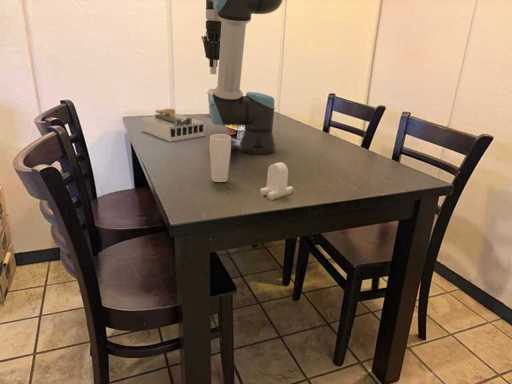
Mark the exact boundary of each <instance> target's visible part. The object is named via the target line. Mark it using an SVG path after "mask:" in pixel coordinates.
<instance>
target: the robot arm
mask: <svg viewBox="0 0 512 384" xmlns="http://www.w3.org/2000/svg"><path fill="white" fill-rule="evenodd" d="M282 3H283V0H205V19H206V21H205V29H206V31H205V34H204V35H202V36H201V41H202V43H203V47H204V55H205V58H206V59H207V60H208V61H209V63H208V64H209V70H210V71H209V72H210V73H209V75H217V86H216V87H215V88H213V89H214V90H213V95H210V96H209V100H208V110H210V114H209V117H210V116H211V117H210V120H211V123H212V124H213V125H215V126H244V132H243V135H242V138H241V141H240V143H239V150H240V151H242V152H244V153H246V154H250V155H251V154H253V155H269V154H273V153H275V152H276V146H277V145H276V143H275V139H274V132H273V130H274V118H275V109H276V106H275V98H274V97H273V96H271V95H267V94H265V93H260V92H255V91H254V92H253V91H247V92H246V94H245V95H244V93H243V91H242V90H241V88H240V87H241V78H242V69H243V58H244V57H243V56H244V49H245V38H246V30H247V29H246V28H247V27H246V26H247V25H248V23H250V22H251V20H252V15H253V14H254V15H266V14H270V13H273V12H276V11H277V10H278V9H279V8H280V6H281V5H282ZM217 67H218V69H217ZM217 70H218V72H217ZM217 73H218V74H217Z"/></svg>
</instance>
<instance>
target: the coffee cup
mask: <svg viewBox="0 0 512 384" xmlns="http://www.w3.org/2000/svg"><path fill="white" fill-rule="evenodd" d="M214 89H215V88H209V89H208V90H207V93H206V94H207V99H208V101H209V96H210V95H213V90H214ZM208 110H209V109H208ZM208 112H209V113H208V115H209V117H210V118H211V116H210V110H209V111H208Z"/></svg>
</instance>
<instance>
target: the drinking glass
mask: <svg viewBox="0 0 512 384" xmlns="http://www.w3.org/2000/svg"><path fill="white" fill-rule="evenodd" d="M209 136H210V137H209V154H210V155H209V157H210V159H209V160H210V169H211V170H210V171H211V181H212V182H213V181H214V182H213V183H215V182H225V183H227V182H228V180H229V169H230V161H231V150H232V136H231V135H229V134H223V133H215V134H211V135H209ZM226 181H227V182H226Z"/></svg>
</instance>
